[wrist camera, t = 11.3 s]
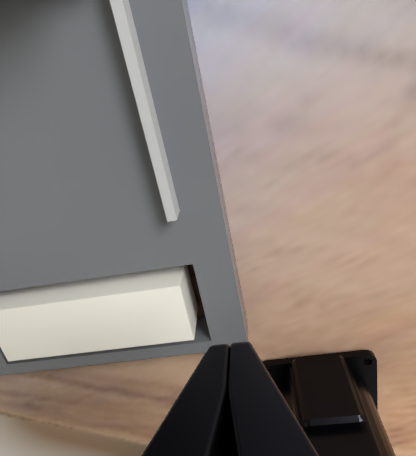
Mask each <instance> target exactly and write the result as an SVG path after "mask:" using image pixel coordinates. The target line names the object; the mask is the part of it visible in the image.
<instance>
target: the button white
mask: <svg viewBox="0 0 416 456" xmlns="http://www.w3.org/2000/svg"><path fill="white" fill-rule="evenodd" d="M197 314H198V306H197V302H196V298H195V294H194V290H193V286H192V282H191V278H190V274H189V270H188V266H187V265H184V266H177V267H170V268H163V269H156V270H148V271H141V272H134V273H127V274H120V275H113V276H106V277H99V278H92V279H85V280H78V281H71V282H64V283H57V284H50V285H43V286H36V287H29V288H22V289H15V290H8V291H1V292H0V347H1V349H2V351H3V353H4V355H5V357H6V358H7V360H8V361H16V360H25V359H33V358H42V357H51V356H59V355H68V354H77V353H85V352H94V351H102V350H111V349H120V348H128V347H137V346H146V345H154V344H163V343H171V342H180V341H189V340H194V338H195V330H196V322H197Z"/></svg>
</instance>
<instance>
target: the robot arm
mask: <svg viewBox="0 0 416 456" xmlns="http://www.w3.org/2000/svg"><path fill="white" fill-rule="evenodd" d="M365 359H368V360H365ZM267 369H271V370H267ZM142 456H395V453H394V451H393V448H392V446H391V443H390V441H389V439H388V436H387V434H386V431H385V429H384V426H383V424H382V421H381V419H380V416H379V414H378V411H377V360H376V357H375V355H374V353H373V352H372V351H369V350H361V351H352V352H342V353H333V354H323V355H314V356H304V357H295V358H286V359H276V360H267V361H264V362H262V361H261V359H260V358H259V356H258V354H257V353H256V351H255V349H254V348H253V346H252V344H251V343H250V342H248V341H245V342H236V343H232V344H231V345H229V344H219V345H212V346H210V347H209V348H208V350H207V352H206V353H205V355H204V356H203V358H202V360H201V361H200V363H199V364H198V366H197V368H196V369H195V371H194V372H193V374H192V376H191V377H190V379H189V380H188V382H187V384H186V385H185V387H184V388H183V390H182V392H181V393H180V395H179V396H178V398H177V400H176V401H175V403H174V404H173V406H172V408H171V409H170V411H169V412H168V414H167V416H166V417H165V419H164V420H163V422H162V424H161V425H160V427H159V429H158V430H157V432H156V433H155V435H154V437H153V438H152V440H151V441H150V443H149V445H148V446H147V448H146V449H145V451H144V453H143V454H142Z"/></svg>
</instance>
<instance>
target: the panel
mask: <svg viewBox="0 0 416 456" xmlns="http://www.w3.org/2000/svg"><path fill="white" fill-rule="evenodd" d="M191 264H193V267H194V271H195V275H196V280H197V284H198V288H199V292H200V296H201V300H202V304H203V308H204V312H205V317H203V318H197V322H196V330H195V338H194V340H189V341H180V342H171V343H163V344H154V345H146V346H137V347H128V348H120V349H111V350H102V351H94V352H85V353H77V354H68V355H59V356H51V357H42V358H33V359H25V360H16V361H8V360H7V358H6V357H5V355H4V353H3V351H2V349H1V347H0V375H8V374H17V373H26V372H35V371H44V370H53V369H62V368H71V367H80V366H89V365H98V364H107V363H116V362H125V361H134V360H143V359H152V358H161V357H170V356H179V355H188V354H197V353H206V352H207V350H208V348H209V347H210V346H212V345H219V344H229V345H231V344H232V343H236V342H245V341H248V329H247V319H246V314H245V309H244V303H243V298H242V293H241V287H240V282H239V277H238V271H237V266H236V261H235V255H234V250H233V245H232V240H231V234H230V229H229V224H228V218H227V213H226V208H225V202H224V197H223V192H222V186H221V181H220V176H219V170H218V165H217V160H216V154H215V149H214V144H213V139H212V133H211V128H210V123H209V117H208V112H207V107H206V101H205V96H204V91H203V85H202V80H201V75H200V69H199V64H198V59H197V54H196V48H195V43H194V38H193V32H192V27H191V22H190V16H189V11H188V6H187V0H0V292H1V291H8V290H15V289H22V288H29V287H36V286H43V285H50V284H57V283H64V282H71V281H78V280H85V279H92V278H99V277H106V276H113V275H120V274H127V273H134V272H141V271H148V270H156V269H163V268H170V267H177V266H184V265H191Z"/></svg>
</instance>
